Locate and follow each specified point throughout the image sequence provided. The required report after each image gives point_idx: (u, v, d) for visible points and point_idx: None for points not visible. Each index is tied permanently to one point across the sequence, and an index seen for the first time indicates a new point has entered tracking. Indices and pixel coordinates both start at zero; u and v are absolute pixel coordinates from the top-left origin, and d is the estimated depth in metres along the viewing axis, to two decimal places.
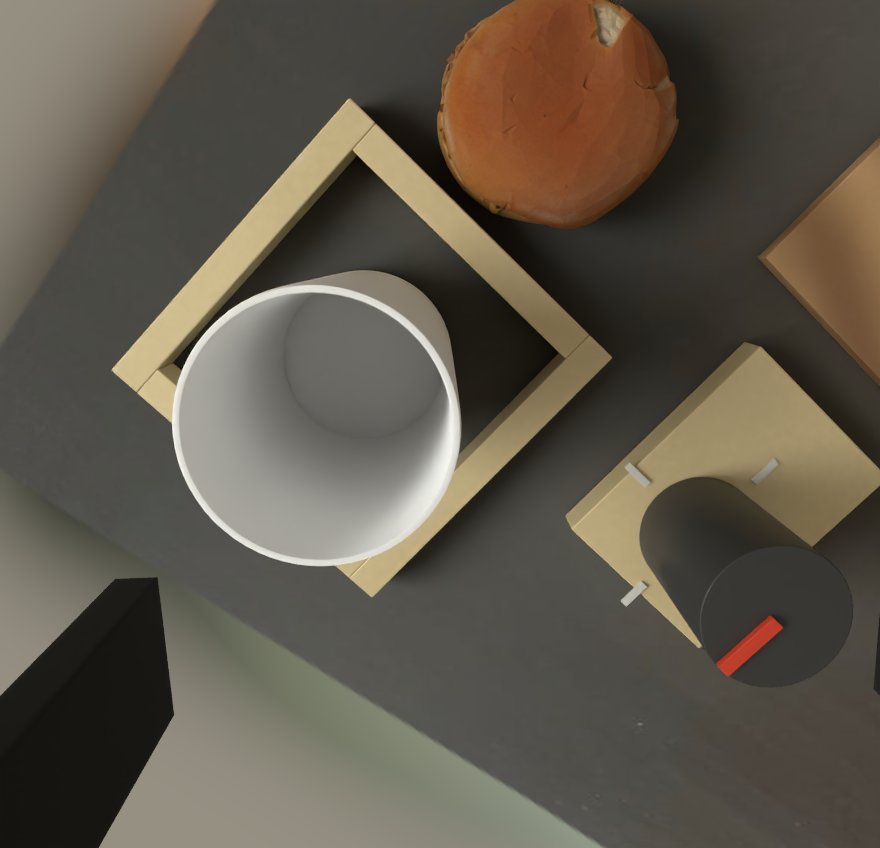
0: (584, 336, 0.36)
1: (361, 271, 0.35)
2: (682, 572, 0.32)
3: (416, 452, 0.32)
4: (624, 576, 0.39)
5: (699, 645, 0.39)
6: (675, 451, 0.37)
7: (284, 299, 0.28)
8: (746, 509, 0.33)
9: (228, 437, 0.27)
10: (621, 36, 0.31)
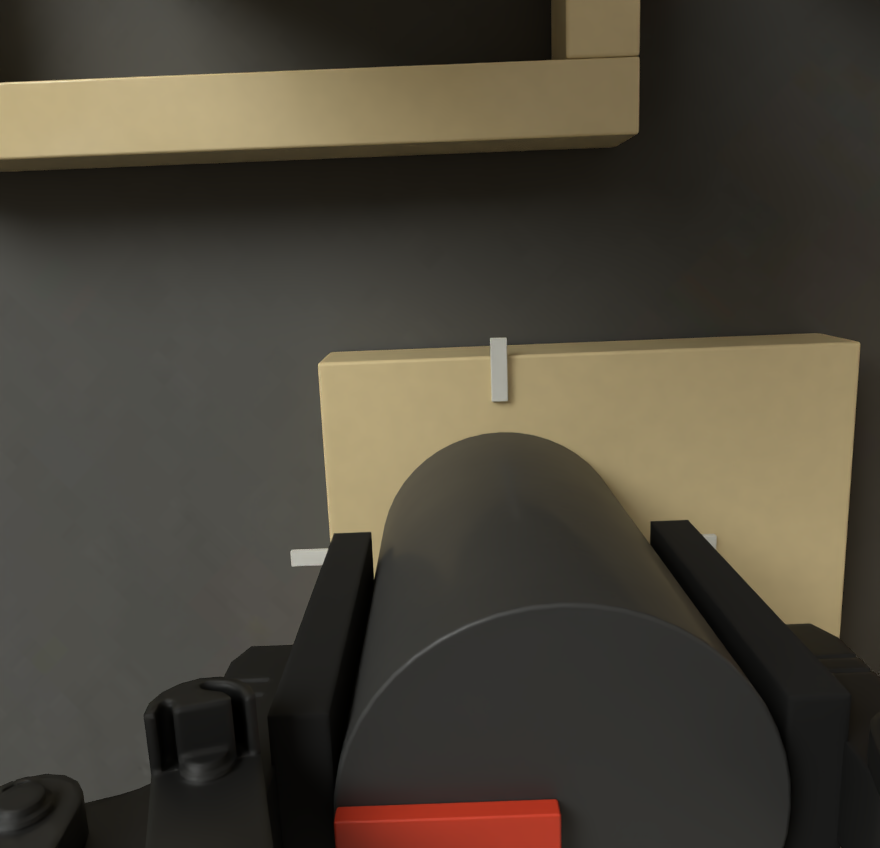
0: (630, 49, 0.16)
1: None
2: (441, 554, 0.12)
3: None
4: (332, 516, 0.18)
5: None
6: (589, 388, 0.18)
7: None
8: (654, 551, 0.13)
9: None
10: None
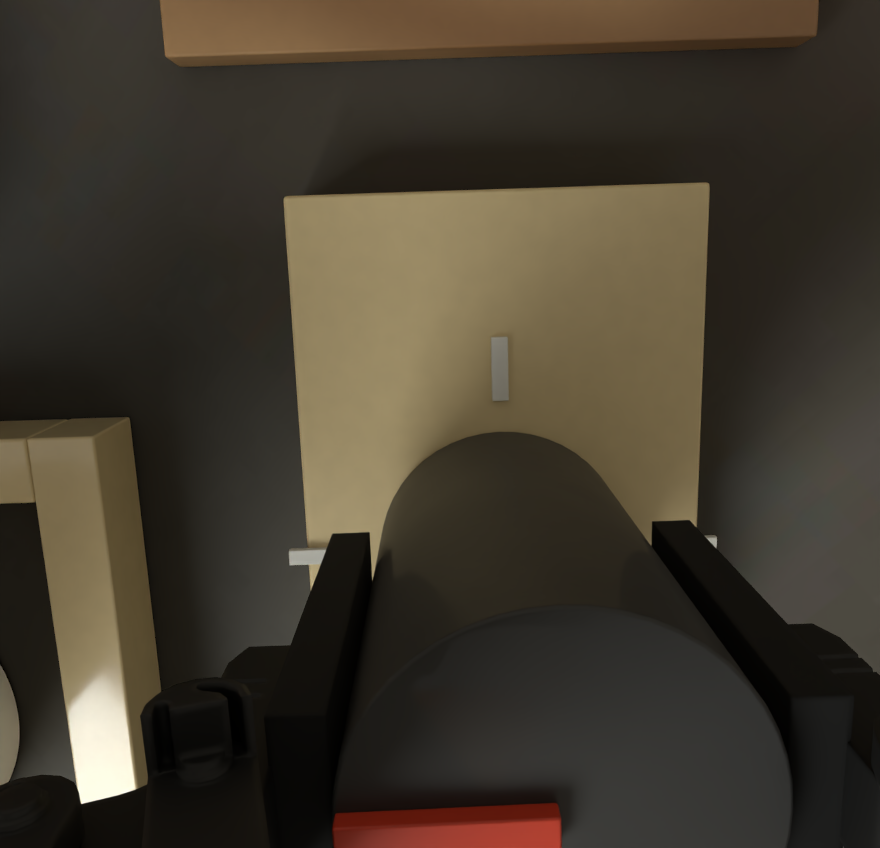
0: (20, 448, 0.18)
1: None
2: (438, 557, 0.12)
3: None
4: None
5: None
6: (337, 470, 0.18)
7: None
8: (653, 550, 0.13)
9: None
10: None
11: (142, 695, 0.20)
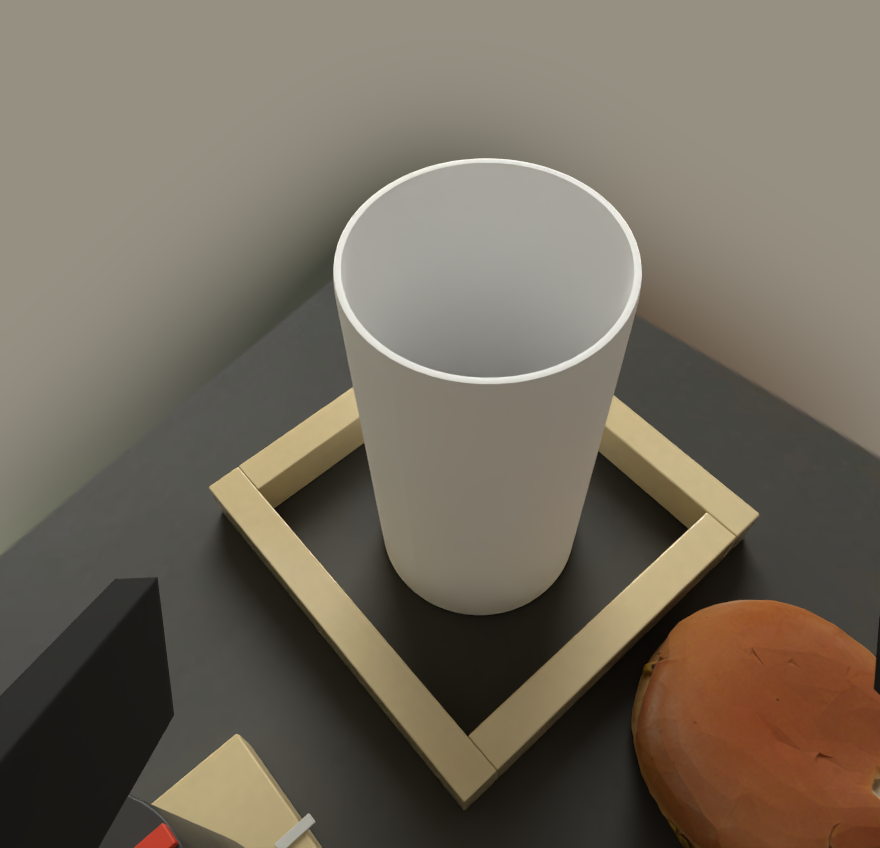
0: (495, 762, 0.27)
1: None
2: None
3: None
4: None
5: None
6: None
7: (584, 350, 0.27)
8: None
9: (455, 269, 0.27)
10: None
11: (343, 656, 0.30)
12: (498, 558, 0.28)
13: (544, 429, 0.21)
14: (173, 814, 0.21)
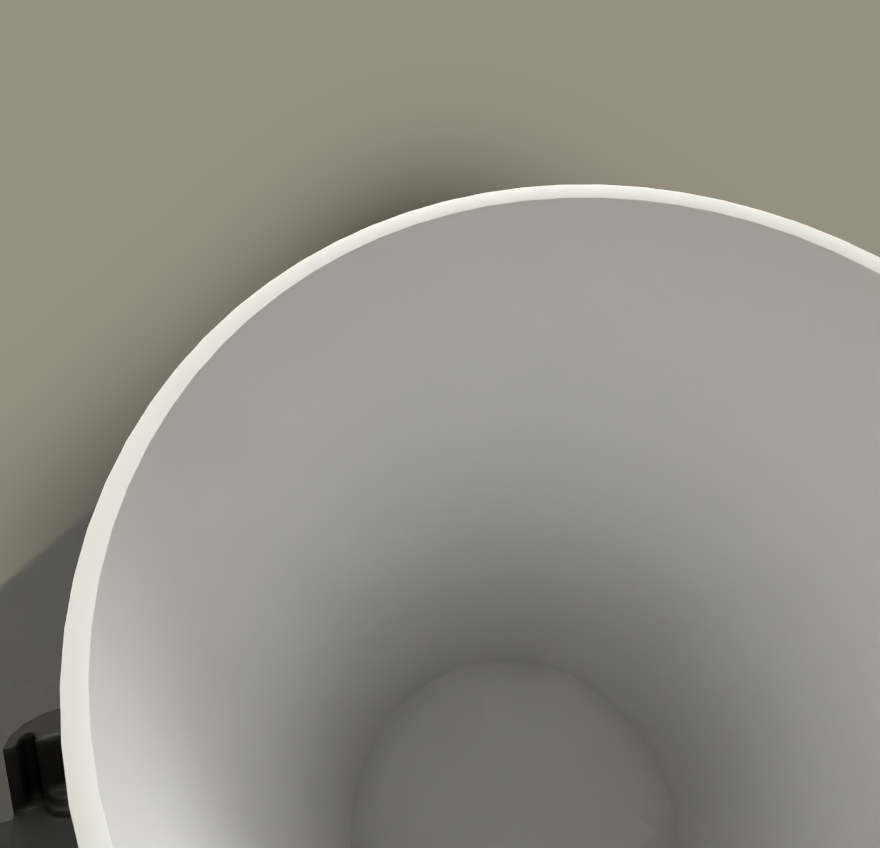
0: None
1: None
2: None
3: None
4: None
5: None
6: None
7: (781, 621, 0.12)
8: None
9: (483, 436, 0.12)
10: None
11: None
12: None
13: None
14: None
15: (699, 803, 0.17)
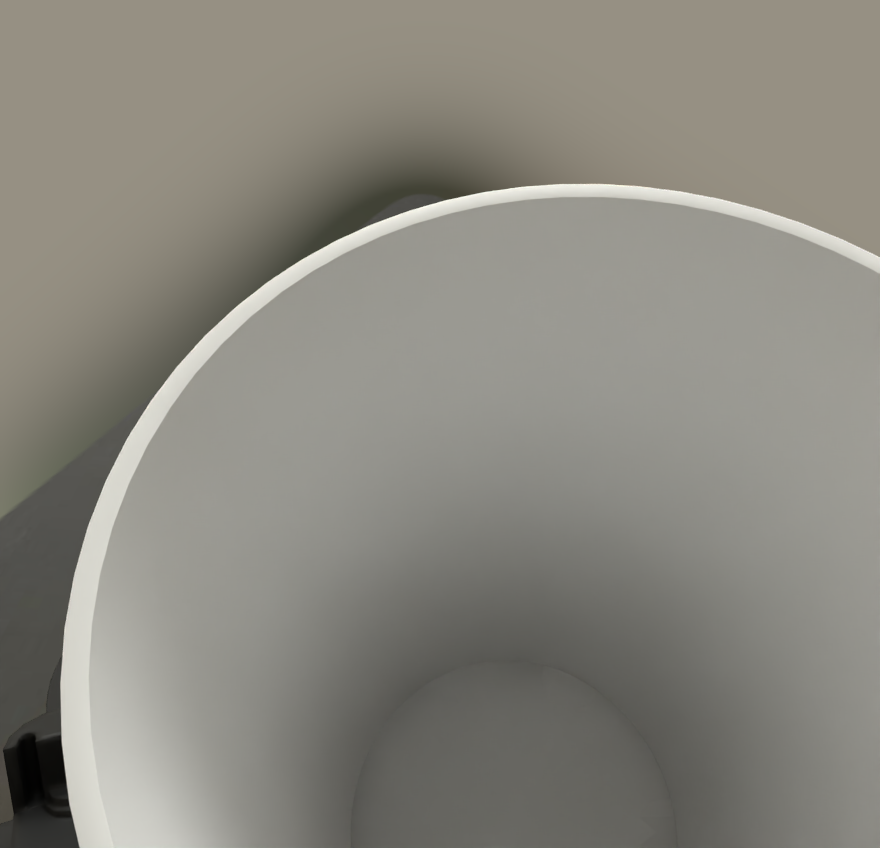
0: None
1: None
2: None
3: None
4: None
5: None
6: None
7: (781, 621, 0.12)
8: None
9: (483, 435, 0.12)
10: None
11: None
12: None
13: None
14: None
15: (699, 803, 0.17)
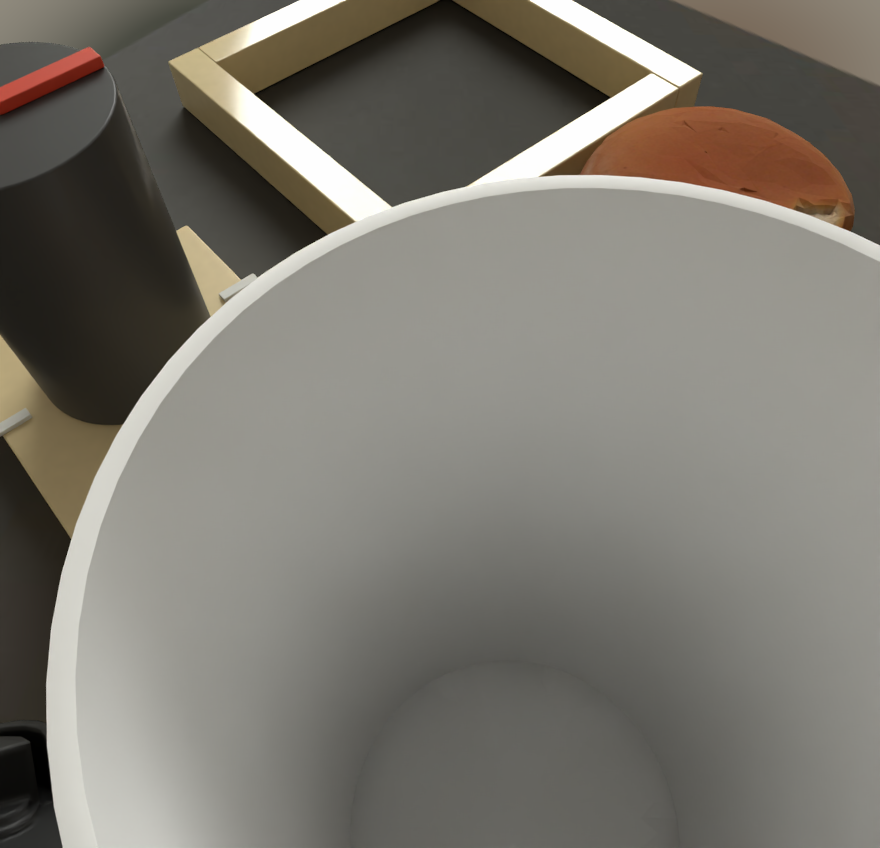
0: None
1: None
2: (137, 221, 0.20)
3: None
4: None
5: None
6: None
7: (784, 620, 0.12)
8: (22, 321, 0.20)
9: (483, 432, 0.11)
10: None
11: (293, 185, 0.31)
12: None
13: None
14: None
15: (701, 804, 0.17)
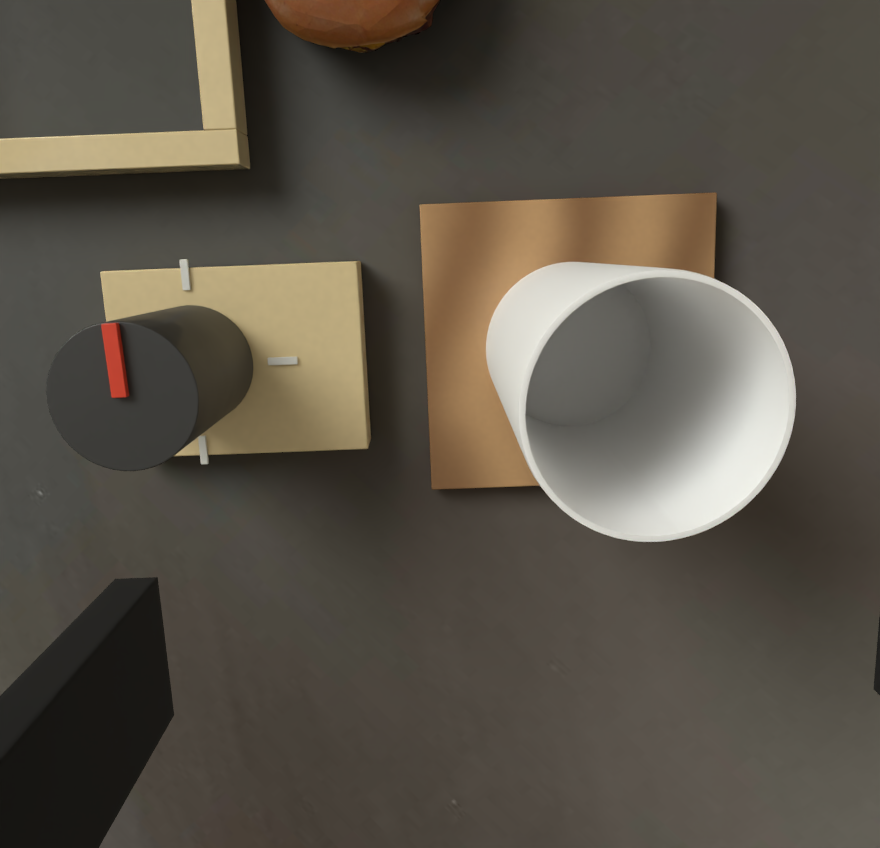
0: (231, 126, 0.36)
1: None
2: (204, 348, 0.32)
3: (593, 461, 0.33)
4: None
5: None
6: (229, 284, 0.38)
7: None
8: (208, 428, 0.34)
9: None
10: None
11: (96, 172, 0.37)
12: None
13: None
14: None
15: (634, 287, 0.36)
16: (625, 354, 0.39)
